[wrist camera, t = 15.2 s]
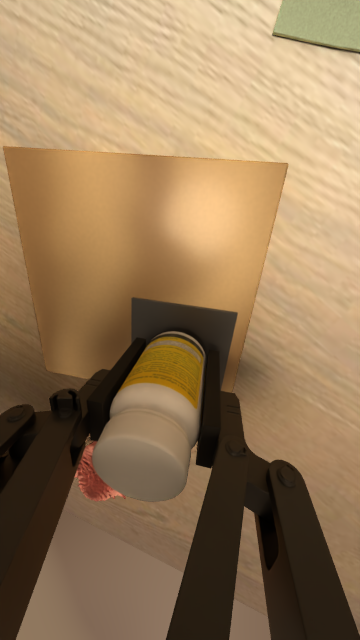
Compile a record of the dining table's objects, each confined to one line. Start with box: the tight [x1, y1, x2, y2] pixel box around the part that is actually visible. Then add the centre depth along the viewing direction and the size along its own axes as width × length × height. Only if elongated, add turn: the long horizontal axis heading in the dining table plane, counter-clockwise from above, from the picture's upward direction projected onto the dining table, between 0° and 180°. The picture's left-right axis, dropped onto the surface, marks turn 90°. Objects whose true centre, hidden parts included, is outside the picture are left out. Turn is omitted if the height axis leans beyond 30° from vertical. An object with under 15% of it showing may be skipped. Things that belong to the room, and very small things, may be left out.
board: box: [3, 146, 288, 393], centre depth 16 cm, size 18×18×1 cm
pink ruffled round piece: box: [75, 441, 126, 501], centre depth 21 cm, size 8×8×6 cm
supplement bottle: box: [92, 331, 206, 502], centre depth 12 cm, size 5×5×8 cm
